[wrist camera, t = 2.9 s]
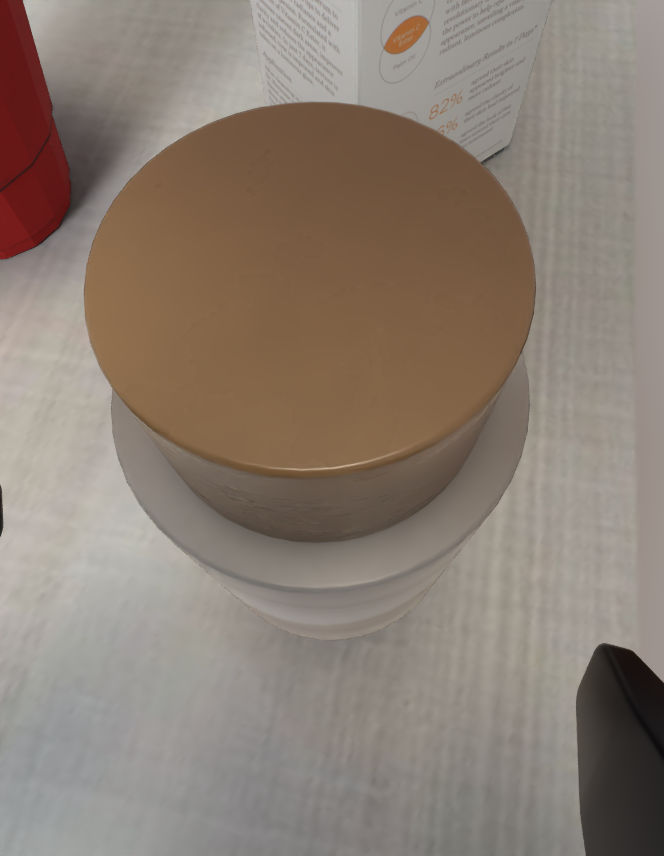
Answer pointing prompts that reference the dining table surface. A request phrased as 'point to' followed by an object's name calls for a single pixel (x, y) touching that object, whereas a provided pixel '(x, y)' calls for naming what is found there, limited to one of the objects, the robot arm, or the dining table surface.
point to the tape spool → (315, 355)
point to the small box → (406, 59)
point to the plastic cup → (27, 141)
